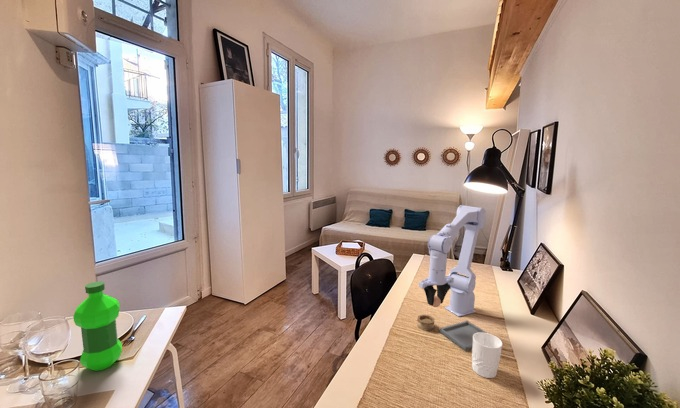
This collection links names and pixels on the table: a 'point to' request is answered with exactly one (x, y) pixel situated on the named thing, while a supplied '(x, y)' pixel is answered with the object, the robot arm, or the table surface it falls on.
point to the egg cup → (425, 322)
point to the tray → (461, 334)
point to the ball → (436, 301)
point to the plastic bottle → (98, 328)
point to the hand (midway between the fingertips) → (435, 303)
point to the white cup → (486, 354)
